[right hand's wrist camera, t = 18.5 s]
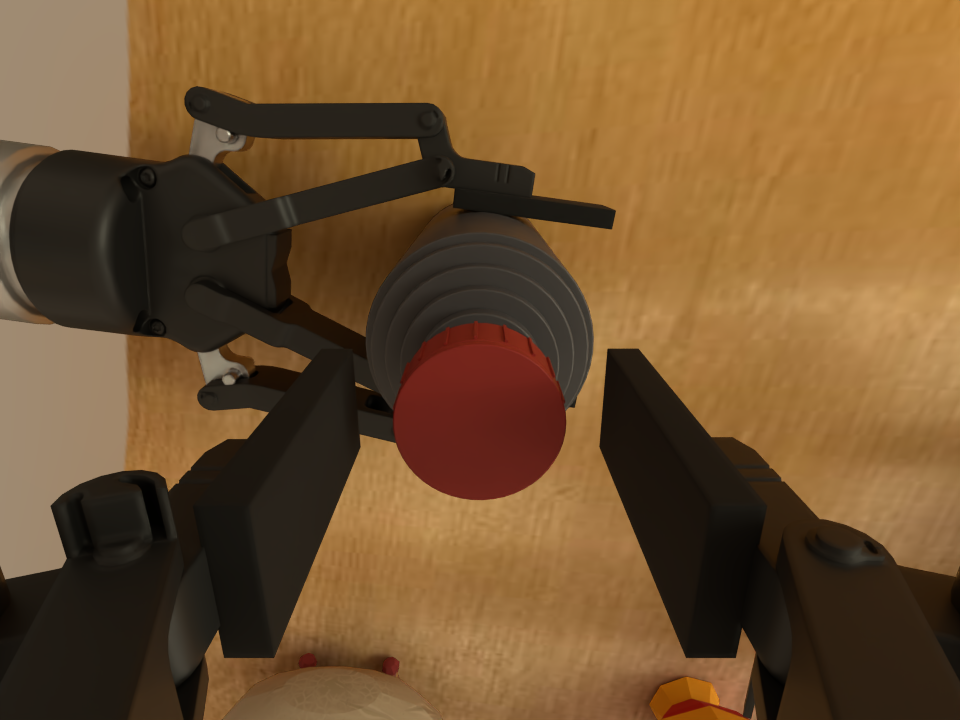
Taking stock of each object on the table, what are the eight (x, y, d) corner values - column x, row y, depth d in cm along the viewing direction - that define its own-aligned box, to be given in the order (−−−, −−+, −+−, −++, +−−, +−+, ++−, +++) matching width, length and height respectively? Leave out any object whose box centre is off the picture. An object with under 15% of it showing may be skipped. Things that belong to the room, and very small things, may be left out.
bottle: (520, 342, 33) (570, 573, 15) (400, 307, 32) (297, 503, 14) (563, 221, 30) (686, 318, 12) (434, 180, 30) (363, 217, 12)
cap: (558, 316, 14) (568, 337, 12) (557, 462, 15) (567, 499, 13) (393, 323, 14) (382, 345, 12) (408, 468, 15) (399, 505, 13)
